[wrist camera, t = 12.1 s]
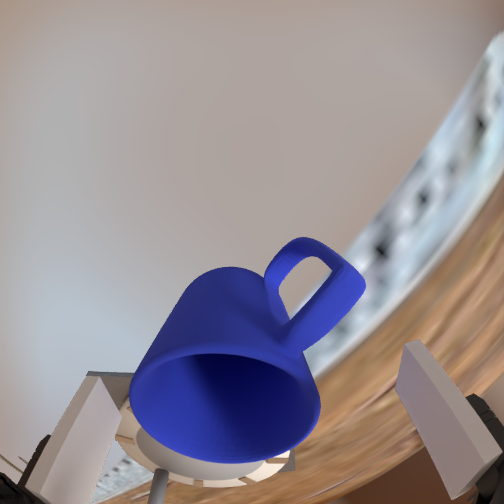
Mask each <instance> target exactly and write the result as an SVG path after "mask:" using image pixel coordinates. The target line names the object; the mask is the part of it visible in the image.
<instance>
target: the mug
mask: <svg viewBox="0 0 504 504" xmlns="http://www.w3.org/2000/svg"><path fill="white" fill-rule="evenodd" d="M310 256H314V257H318V258H320V259H321V260H322V261H323V262H324V263H326V264H327V266H328V267H329V268H330V269H331V270H332V273H331V274H330V276H329V277H328V278H327V280H326V281H325V282H324V283H323V284H322V286H321V287H320V288H319V289H318V290H317V292H316V293H315V294H314V295H313V296H312V298H311V299H310V300H309V301H308V302H307V303H306V304H305V305H304V306H303V307H302V308H301V309H300V310H299V312H298V313H297V314H296V315H295V316H294V317H293V318H292V319H291V320H290V319H289V316H288V314H287V311H286V309H285V306H284V304H283V301H282V300H281V297H280V295H279V291H278V290H279V286H280V284H281V282H282V281H283V279H284V278H285V277H286V275H287V274H288V273H289V272H290V271H291V270H292V268H293V267H294V266H295V265H297V264H298V263H299V262H300V261H301V260H303V259H305V258H307V257H310ZM365 288H366V284H365V280H364V278H363V277H362V276H361V274H360V273H359V272H358V271H357V270H356V269H355V268H354V267H353V266H352V265H351V264H349V263H348V262H347V261H346V260H345V259H343V258H342V257H341V256H340V255H339V254H337V253H336V252H335V251H333V250H332V249H330V248H329V247H327V246H326V245H324V244H323V243H321V242H319V241H317V240H315V239H311V238H307V237H300V238H296V239H294V240H292V241H290V242H289V243H288V244H287V245H285V246H284V247H283V248H282V249H281V250H280V251H279V252H278V253H277V255H276V256H275V257H274V258H273V260H272V261H271V262H270V264H269V265H268V267H267V269H266V271H265V274H264V278H263V277H262V276H260V275H259V274H257V273H255V272H253V271H250V270H247V269H244V268H238V267H222V268H217V269H214V270H211V271H208V272H206V273H204V274H202V275H201V276H199V277H198V278H196V279H195V280H194V281H193V282H192V283H191V284H190V285H189V286H188V287H187V288H186V290H185V291H184V293H183V294H182V296H181V297H180V299H179V301H178V302H177V304H176V305H175V307H174V309H173V310H172V312H171V314H170V315H169V317H168V318H167V320H166V322H165V324H164V325H163V327H162V328H161V330H160V331H159V333H158V335H157V337H156V338H155V340H154V341H153V343H152V345H151V346H150V348H149V350H148V352H147V353H146V355H145V356H144V358H143V360H142V361H141V363H140V365H139V367H138V369H137V370H136V372H135V373H134V375H133V377H132V380H131V383H130V386H129V402H130V407H131V409H132V412H133V414H134V416H135V418H136V420H137V421H138V423H139V424H140V425H141V427H142V428H143V429H144V430H145V431H146V432H147V433H148V434H149V435H150V436H151V437H153V438H154V439H155V440H156V441H158V442H159V443H161V444H162V445H164V446H165V447H167V448H169V449H171V450H173V451H175V452H177V453H180V454H182V455H185V456H188V457H190V458H194V459H198V460H202V461H206V462H213V463H222V464H242V463H251V462H257V461H262V460H266V459H269V458H273V457H275V456H278V455H281V454H283V453H285V452H287V451H289V450H291V449H292V448H294V447H295V446H297V445H298V444H300V443H301V442H302V441H303V440H304V439H305V438H306V437H307V436H308V435H309V434H310V433H311V431H312V430H313V429H314V427H315V425H316V423H317V421H318V418H319V415H320V408H321V403H320V396H319V392H318V390H317V387H316V384H315V382H314V379H313V377H312V374H311V372H310V369H309V367H308V364H307V362H306V359H305V356H304V354H303V351H304V350H306V349H307V348H309V347H310V346H312V345H313V344H314V343H316V342H317V341H319V340H320V339H321V338H322V337H323V336H325V335H326V334H327V333H328V332H329V331H330V330H331V329H332V328H333V327H334V326H335V325H336V324H337V323H338V322H339V321H340V320H341V319H342V318H343V317H344V316H345V315H346V314H347V313H348V312H349V311H350V309H351V308H352V307H353V306H354V305H355V303H356V302H357V301H358V300H359V298H360V297H361V296H362V294H363V293H364V291H365Z"/></svg>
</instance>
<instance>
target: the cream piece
mask: <svg viewBox="0 0 504 504" xmlns="http://www.w3.org/2000/svg"><path fill="white" fill-rule="evenodd" d="M119 412H120V414H121V415H122V419H121V422H120V424H119V427H118V429H117V432H116V434H115V439H116V440H117V441H118V443H119V444H120V446H121V447H122V449H123V450H124V451H125V452H126V453H127V454H128V455H129V456H130V457H131V458H132V459H133V460H135V461H136V462H137V463H139V464H140V465H141V466H143V467H145V468H146V469H148V470H150V471H152V472H154V477H153V481H152V486H151V490H150V495H149V499H148V504H164V498H165V493H166V487H167V482H168V479H171V480H174V481H178V482H181V483H185V484H190V485H194V487H200V488H203V486H204V487H234V486H241V485H246V484H248V485H252V484H256V483H257V481H260V480H263V479H265V478H267V477H269V476H271V475H273V474H274V473H276V472H277V471H278V470H280V469H281V468H282V467H283V466H284V464H287V462H288V460H289V454H290V450H289V451H287V452H285V453H283V454H281V455H278V456H275V457H273V458H269V459H266V460H262V461H257V462H251V463H242V464H222V463H213V462H206V461H202V460H198V459H194V458H190V457H188V456H185V455H182V454H180V453H177V452H175V451H173V450H171V449H169V448H167V447H165V446H164V445H162V444H161V443H159V442H158V441H156V440H155V439H154V438H153V437H151V436H150V435H149V434H148V433H147V432H146V431H145V430H144V429H143V428H142V427H141V425H140V424H139V423H138V421H137V420H136V418H135V416H134V414H133V412H132V409H131V407H130V402H129V397H128V398H127V399H126V400H125V401H124V402H123V404H122V406H121V408H120V410H119Z"/></svg>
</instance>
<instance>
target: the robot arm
mask: <svg viewBox="0 0 504 504" xmlns="http://www.w3.org/2000/svg"><path fill="white" fill-rule="evenodd" d="M395 390H396V392H397V394H398V396H399V397H400V399H401V401H402V403H403V405H404V406H405V408H406V410H407V412H408V414H409V416H410V417H411V419H412V421H413V423H414V425H415V427H416V429H417V431H418V433H419V434H420V436H421V438H422V440H423V442H424V444H425V446H426V448H427V450H428V452H429V454H430V456H431V458H432V460H433V462H434V464H435V466H436V468H437V470H438V472H439V474H440V476H441V478H442V480H443V482H444V485H445V487H446V489H447V491H448V493H449V495H450V498H451V499H452V500H453V499H455V498H456V497H458V496H460V495H462V494H464V493H466V492H468V491H469V490H470V489H471V488H472V487H473V486H474V485H475V484H476V486H477V489H476V490H475V491H474V492H473V493H472V494H471V495H470V496H469V498H468V500H467V501H470V500H471V499H472V498H473V497H474V498H473V502H472V504H504V426H503V425H502V424H501V422H500V421H499V420H498V418H496V417H495V414H494V413H493V412H492V411H491V410H490V407H489V406H488V405H487V403H486V402H485V401H484V400H483V399H482V398H480V397H478V396H477V395H475V394H474V393H473V394H471V395H469V396H467V397H464V395H463V394H462V393H461V391H460V390H459V389H458V387H457V386H456V385H455V383H454V382H453V381H452V380H451V378H450V377H449V376H448V374H447V373H446V372H445V371H444V369H443V368H442V367H441V366H440V364H439V363H438V362H437V361H436V359H435V358H434V357H433V356H432V354H431V353H430V352H429V351H428V349H427V348H426V347H425V346H424V345H423V343H422V342H421V341H420V340H415V341H412V342H408V343H405V344H404V348H403V354H402V359H401V364H400V369H399V374H398V378H397V383H396V387H395ZM121 419H122V415H121V414H120V412H119V410H118V409H117V407H116V405H115V403H114V402H113V400H112V398H111V396H110V395H109V393H108V391H107V389H106V387H105V385H104V384H103V382H102V380H101V378H100V376H86V378H85V379H84V381H83V383H82V384H81V386H80V388H79V389H78V391H77V392H76V394H75V396H74V397H73V399H72V401H71V402H70V404H69V406H68V407H67V409H66V411H65V413H64V414H63V416H62V418H61V419H60V421H59V423H58V425H57V426H56V428H55V430H54V432H53V433H52V435H47V436H46V437H45V438H44V439H43V440H41V442H40V443H39V445H38V446H37V448H36V452H34V454H33V456H32V459H30V461H29V463H28V465H27V467H26V469H25V471H24V473H23V475H22V477H21V479H20V481H19V482H18V484H17V485H16V484H15V483H14V482H13V481H12V480H11V479H10V478H9V477H7V476H6V475H5V474H4V473H1V472H0V504H90V503H91V500H92V497H93V494H94V491H95V488H96V485H97V482H98V480H99V477H100V474H101V471H102V469H103V466H104V463H105V460H106V458H107V455H108V452H109V450H110V447H111V445H112V442H113V440H114V437H115V434H116V432H117V429H118V427H119V424H120V422H121Z"/></svg>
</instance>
